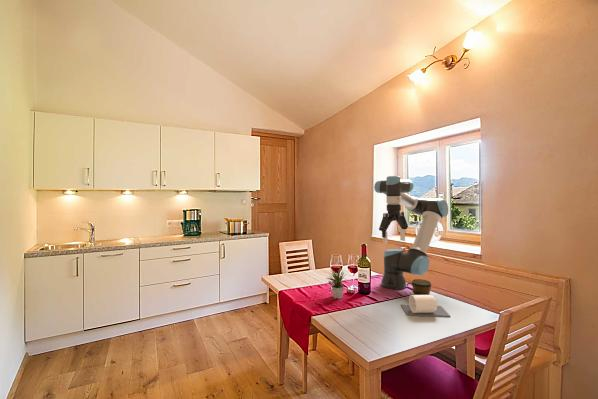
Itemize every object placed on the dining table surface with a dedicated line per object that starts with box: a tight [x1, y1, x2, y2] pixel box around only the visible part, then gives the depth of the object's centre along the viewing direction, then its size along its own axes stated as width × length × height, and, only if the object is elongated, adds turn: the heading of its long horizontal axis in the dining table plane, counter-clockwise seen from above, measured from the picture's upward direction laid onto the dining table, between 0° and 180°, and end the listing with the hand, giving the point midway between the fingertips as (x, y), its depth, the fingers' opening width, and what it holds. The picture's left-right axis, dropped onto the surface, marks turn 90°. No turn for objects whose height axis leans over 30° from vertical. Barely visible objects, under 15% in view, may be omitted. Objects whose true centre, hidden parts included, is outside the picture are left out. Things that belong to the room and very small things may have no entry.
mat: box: [400, 304, 451, 318], centre depth 141 cm, size 20×12×1 cm, turn 83°
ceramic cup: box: [406, 278, 432, 295], centre depth 157 cm, size 13×10×10 cm
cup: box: [408, 294, 438, 313], centre depth 140 cm, size 8×12×10 cm
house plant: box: [324, 267, 348, 299], centre depth 162 cm, size 14×14×16 cm
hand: (394, 241), depth 158 cm, fingers open, 13 cm apart
